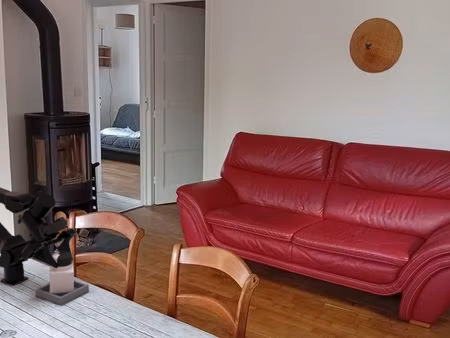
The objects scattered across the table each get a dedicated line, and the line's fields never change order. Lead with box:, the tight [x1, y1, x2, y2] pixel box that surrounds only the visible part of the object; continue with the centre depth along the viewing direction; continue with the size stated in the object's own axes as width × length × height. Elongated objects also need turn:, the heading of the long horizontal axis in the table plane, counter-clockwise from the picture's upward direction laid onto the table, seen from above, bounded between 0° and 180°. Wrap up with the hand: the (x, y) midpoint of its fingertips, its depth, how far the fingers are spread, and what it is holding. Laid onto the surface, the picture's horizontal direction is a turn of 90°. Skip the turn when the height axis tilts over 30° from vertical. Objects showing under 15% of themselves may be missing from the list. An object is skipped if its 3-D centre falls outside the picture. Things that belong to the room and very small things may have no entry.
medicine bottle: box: [49, 250, 75, 294], centre depth 160 cm, size 7×7×12 cm
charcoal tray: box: [34, 279, 90, 307], centre depth 161 cm, size 12×12×2 cm
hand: (64, 264), depth 159 cm, fingers closed on medicine bottle, 6 cm apart
